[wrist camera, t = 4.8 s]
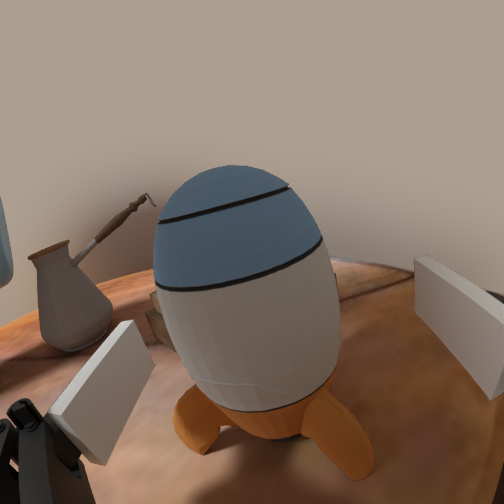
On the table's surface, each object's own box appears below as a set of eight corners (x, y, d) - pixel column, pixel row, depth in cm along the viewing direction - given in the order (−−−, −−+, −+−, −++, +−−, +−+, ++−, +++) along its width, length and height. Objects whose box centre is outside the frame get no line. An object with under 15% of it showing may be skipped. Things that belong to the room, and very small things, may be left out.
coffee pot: (40, 366, 26) (-9, 254, 22) (65, 328, 36) (31, 238, 33) (191, 326, 30) (146, 190, 26) (187, 292, 40) (156, 191, 37)
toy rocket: (292, 369, 20) (300, 162, 16) (403, 445, 12) (490, 184, 7) (168, 426, 15) (111, 175, 10) (268, 555, 7) (310, 188, 2)
